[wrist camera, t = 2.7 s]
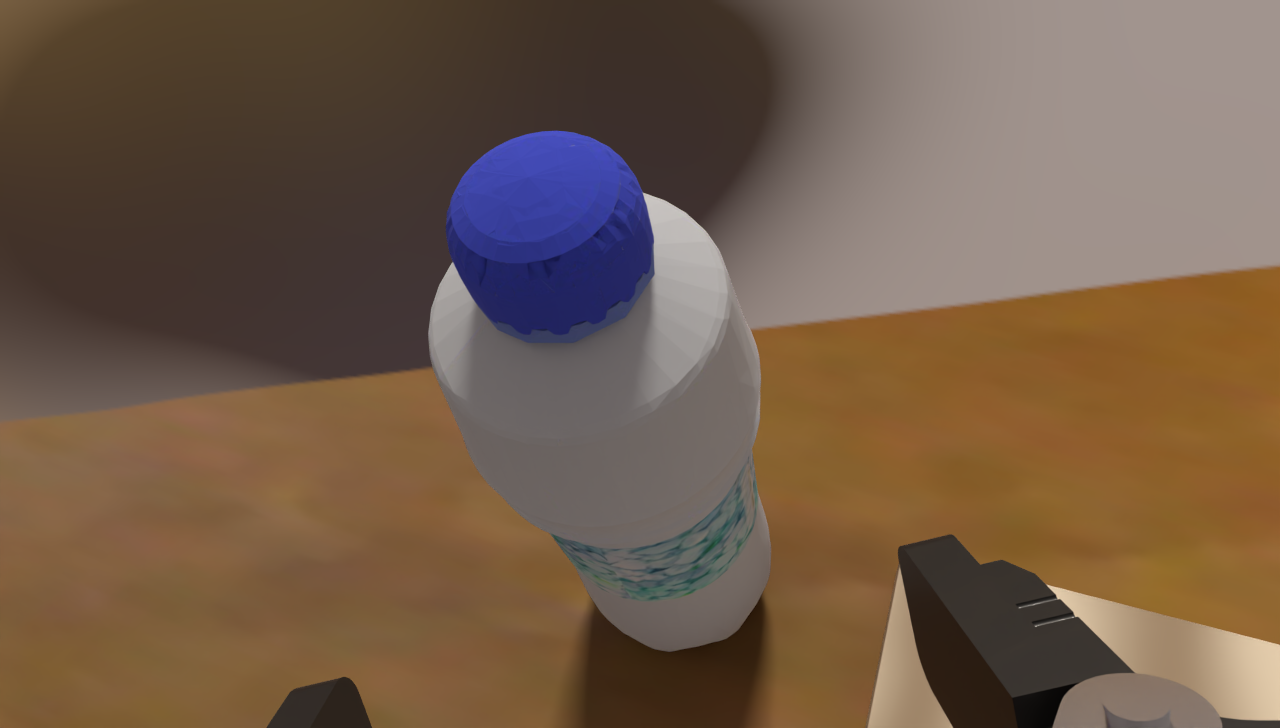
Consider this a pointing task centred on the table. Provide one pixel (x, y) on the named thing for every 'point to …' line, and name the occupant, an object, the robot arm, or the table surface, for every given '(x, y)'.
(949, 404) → the table surface
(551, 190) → the bottle
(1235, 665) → the birch stand
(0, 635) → the table surface
